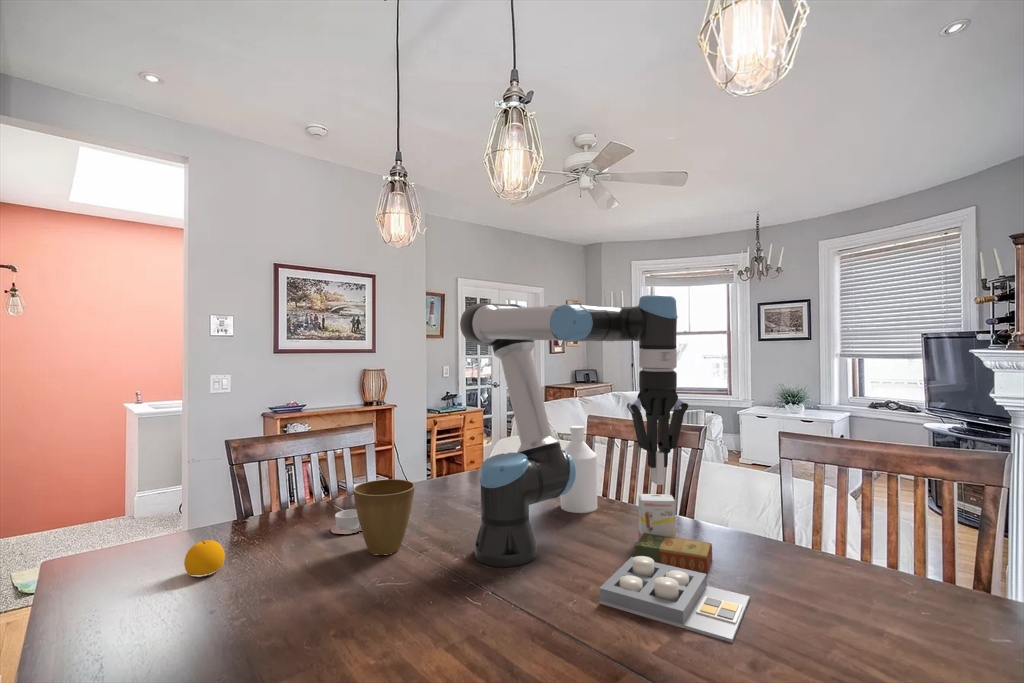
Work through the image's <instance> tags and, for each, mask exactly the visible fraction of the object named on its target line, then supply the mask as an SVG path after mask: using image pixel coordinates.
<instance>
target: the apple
mask: <svg viewBox="0 0 1024 683" xmlns="http://www.w3.org/2000/svg"><path fill="white" fill-rule="evenodd" d="M185 554H186V555H185V557H184V564H183V565H184V569H185V571H186V573H187V574H188V575H189V574H190V575H204V574H209V573H212V572H214V571H216V570H218V569H219V570H221V568H222V567H223V566H224V562H225V559H226V556H225V555H226V553H225V549H224V547H223V545H221V544H220V543H219V542H218V541H217V540H213V539H206V540H202V541H198V542H196V543H195V544H194V545H192V546H191V547H190V548H189V549H188V551H187V552H186V553H185ZM219 570H218V571H219ZM190 575H189V576H190Z"/></svg>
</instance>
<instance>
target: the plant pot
mask: <svg viewBox="0 0 1024 683" xmlns="http://www.w3.org/2000/svg"><path fill="white" fill-rule="evenodd" d="M352 490H353V496H354V505H355V509H356V510H357V515H358V520H359V524H360V527H361V531H362V532H361V533H362V538H363V539H364V543H365V546H366V547H367V550H368V552H370V553H372V554H378V555H384V554H390V553H394V552H396V551H397V550H398V551H399V550H400V549H399V548H401V546H402V543H403V540H404V537H405V535H406V531H407V528H408V524H409V520H410V516H411V511H412V508H413V507H412V506H413V502H414V501H413V500H414V493H415V483H414V482H413V481H409V480H405V479H401V478H400V479H399V478H398V479H397V478H394V479H393V478H390V479H388V478H387V479H378V480H377V479H376V480H371V481H367V482H362V483H359V484H357V485H356V486H354V488H352ZM398 551H397V552H398ZM397 552H396V553H397ZM370 553H369V554H370ZM372 554H371V555H372ZM394 554H395V553H394Z"/></svg>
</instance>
